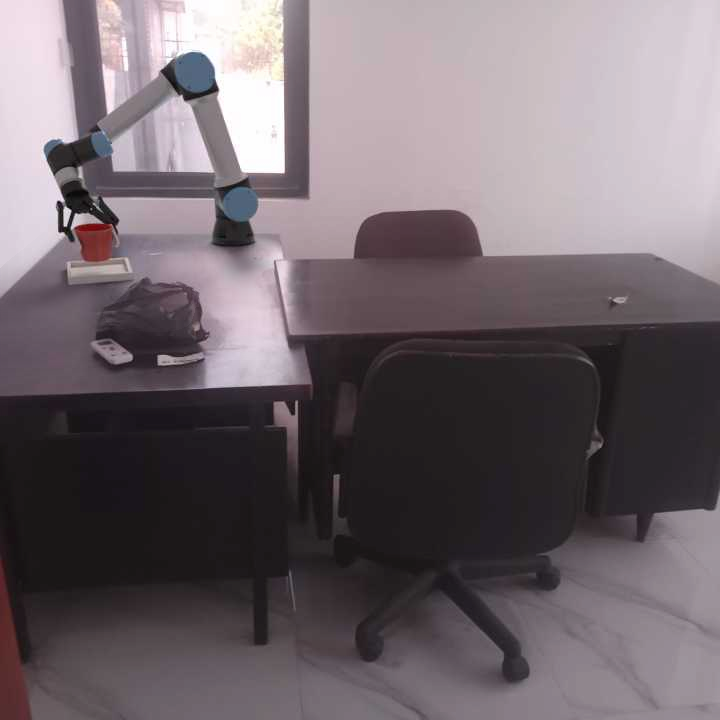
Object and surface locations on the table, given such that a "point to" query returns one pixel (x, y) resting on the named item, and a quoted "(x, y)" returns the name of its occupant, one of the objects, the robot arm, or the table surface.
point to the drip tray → (99, 271)
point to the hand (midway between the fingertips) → (99, 247)
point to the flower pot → (95, 241)
